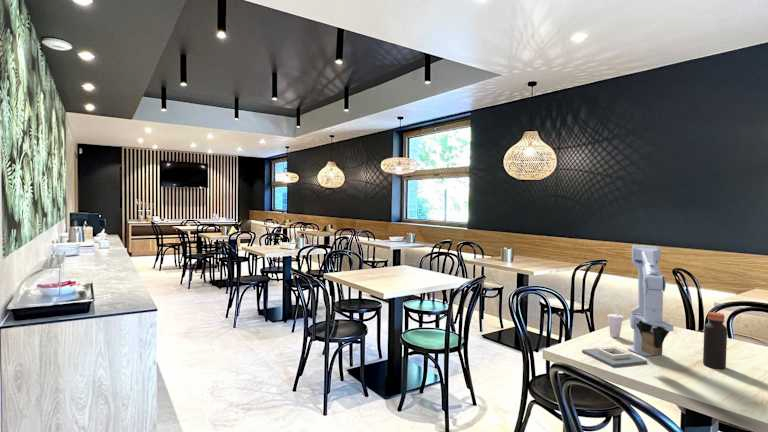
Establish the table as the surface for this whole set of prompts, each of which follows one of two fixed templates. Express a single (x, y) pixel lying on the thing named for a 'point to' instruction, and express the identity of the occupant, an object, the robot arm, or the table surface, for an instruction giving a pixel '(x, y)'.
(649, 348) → the peg
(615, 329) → the smoothie
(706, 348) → the bottle
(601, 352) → the holder
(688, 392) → the table surface
